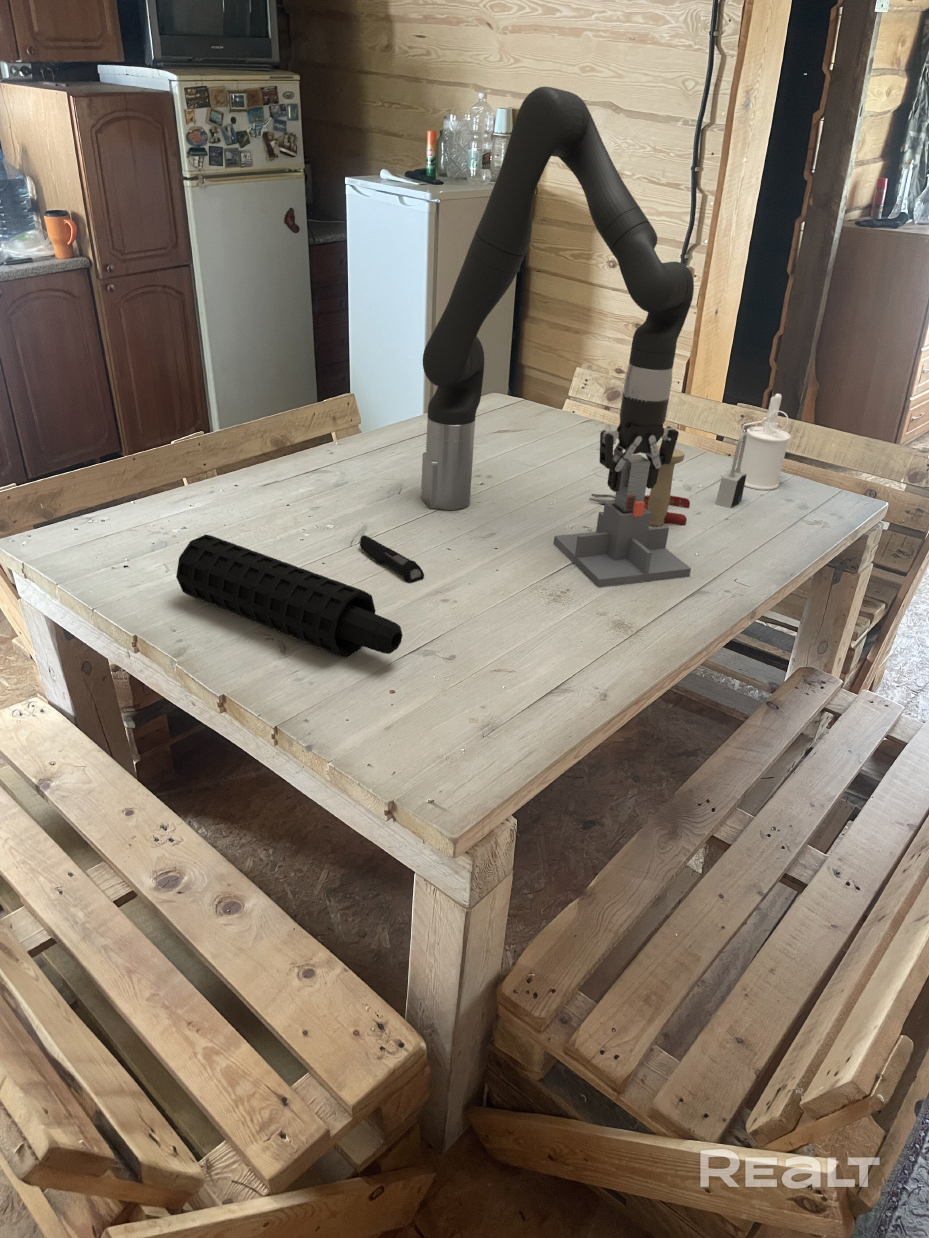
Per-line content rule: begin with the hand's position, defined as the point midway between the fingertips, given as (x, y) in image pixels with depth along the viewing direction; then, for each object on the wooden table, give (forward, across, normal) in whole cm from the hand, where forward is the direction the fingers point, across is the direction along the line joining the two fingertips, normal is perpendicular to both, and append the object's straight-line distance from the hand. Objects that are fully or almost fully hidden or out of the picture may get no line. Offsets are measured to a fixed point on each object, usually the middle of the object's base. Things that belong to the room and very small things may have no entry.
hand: (631, 488), depth 155 cm
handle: (+14, -15, -13) cm, 24 cm away
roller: (+14, +61, +10) cm, 63 cm away
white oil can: (+14, -50, -29) cm, 59 cm away
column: (+12, 0, 0) cm, 12 cm away
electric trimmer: (+14, +41, -7) cm, 44 cm away
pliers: (+14, -18, -22) cm, 31 cm away
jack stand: (+14, 0, 0) cm, 14 cm away
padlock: (+14, -37, -20) cm, 44 cm away
